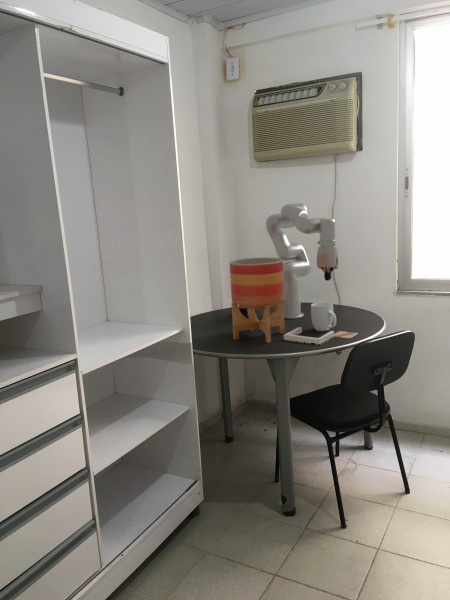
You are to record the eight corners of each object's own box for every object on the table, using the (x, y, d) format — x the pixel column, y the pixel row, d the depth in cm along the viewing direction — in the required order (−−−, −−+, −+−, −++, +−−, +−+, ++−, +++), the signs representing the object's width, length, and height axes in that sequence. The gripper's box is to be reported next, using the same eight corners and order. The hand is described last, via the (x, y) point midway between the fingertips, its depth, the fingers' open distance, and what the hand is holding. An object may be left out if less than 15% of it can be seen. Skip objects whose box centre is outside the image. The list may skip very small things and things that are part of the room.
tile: (330, 336, 239) (330, 336, 239) (339, 331, 246) (339, 331, 246) (350, 338, 233) (350, 338, 233) (358, 333, 241) (358, 333, 240)
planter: (242, 346, 230) (238, 266, 223) (226, 333, 256) (221, 260, 248) (295, 339, 237) (293, 260, 230) (274, 326, 263) (271, 255, 255)
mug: (343, 331, 246) (343, 305, 244) (327, 335, 241) (327, 309, 238) (322, 325, 259) (321, 301, 256) (306, 329, 253) (306, 304, 250)
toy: (255, 300, 307) (251, 308, 277) (256, 311, 308) (252, 320, 278) (236, 301, 308) (230, 309, 279) (236, 311, 309) (231, 321, 280)
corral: (283, 339, 237) (283, 334, 237) (299, 332, 249) (299, 327, 249) (320, 344, 226) (320, 339, 226) (334, 336, 238) (334, 331, 238)
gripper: (310, 244, 248) (311, 280, 252) (337, 245, 239) (338, 282, 243) (317, 242, 254) (318, 277, 258) (344, 243, 245) (344, 279, 249)
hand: (327, 279), depth 250 cm, fingers closed
